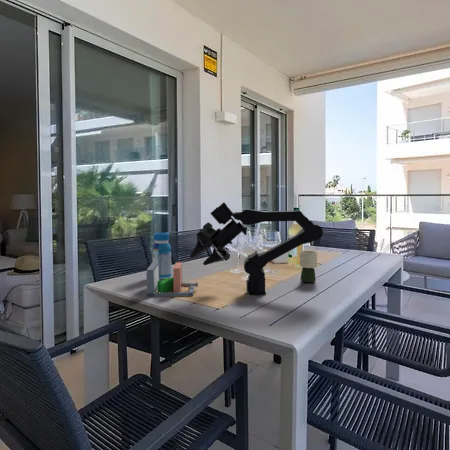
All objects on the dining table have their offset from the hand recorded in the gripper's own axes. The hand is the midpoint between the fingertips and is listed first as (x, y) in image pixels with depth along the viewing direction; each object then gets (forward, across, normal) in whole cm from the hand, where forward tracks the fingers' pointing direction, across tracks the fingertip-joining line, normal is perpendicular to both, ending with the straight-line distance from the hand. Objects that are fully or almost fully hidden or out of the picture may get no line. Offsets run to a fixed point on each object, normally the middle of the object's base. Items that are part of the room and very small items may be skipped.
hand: (197, 260), depth 137 cm
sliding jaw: (+11, -5, +3) cm, 13 cm away
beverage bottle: (+22, -15, -16) cm, 32 cm away
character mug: (-25, -38, +20) cm, 50 cm away
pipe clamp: (+18, -1, 0) cm, 18 cm away
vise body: (+16, -2, +1) cm, 16 cm away
